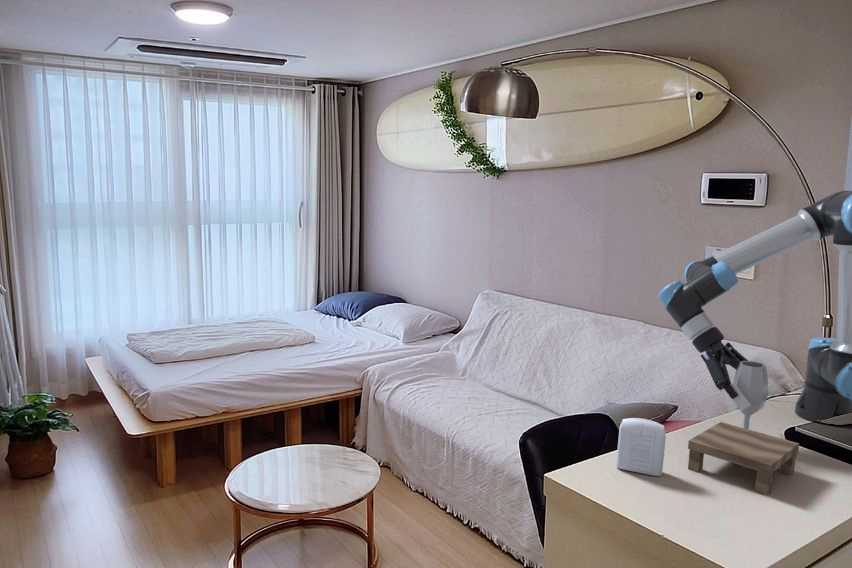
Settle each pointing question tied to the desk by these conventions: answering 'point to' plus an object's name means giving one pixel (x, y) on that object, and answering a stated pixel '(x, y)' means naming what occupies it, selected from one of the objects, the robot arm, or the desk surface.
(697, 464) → the footstool
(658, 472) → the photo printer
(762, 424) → the desk surface
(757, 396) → the wineglass
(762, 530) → the desk surface
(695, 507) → the desk surface
